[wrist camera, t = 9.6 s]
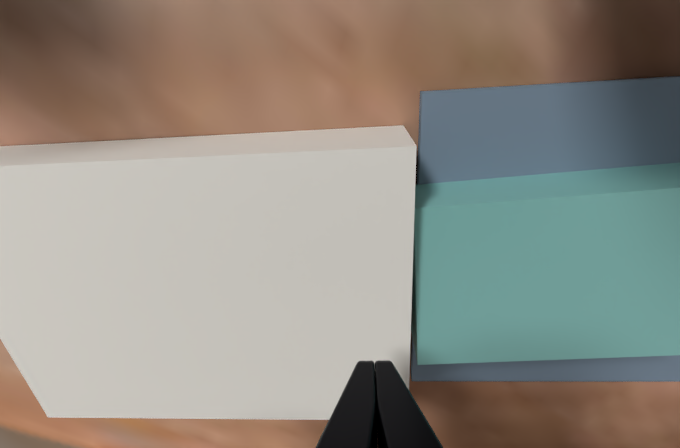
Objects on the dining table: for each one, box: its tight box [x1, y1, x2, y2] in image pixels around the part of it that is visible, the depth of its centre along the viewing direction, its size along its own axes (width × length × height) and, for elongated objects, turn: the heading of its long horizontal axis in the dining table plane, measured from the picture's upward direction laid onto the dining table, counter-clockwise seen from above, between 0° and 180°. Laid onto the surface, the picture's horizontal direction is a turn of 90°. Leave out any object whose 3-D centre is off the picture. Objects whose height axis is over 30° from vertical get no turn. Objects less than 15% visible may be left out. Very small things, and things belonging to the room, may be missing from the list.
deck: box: [0, 125, 417, 420], centre depth 13 cm, size 14×10×3 cm
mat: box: [411, 76, 680, 381], centre depth 13 cm, size 16×12×1 cm
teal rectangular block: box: [411, 163, 680, 365], centre depth 12 cm, size 9×6×2 cm, turn 96°
